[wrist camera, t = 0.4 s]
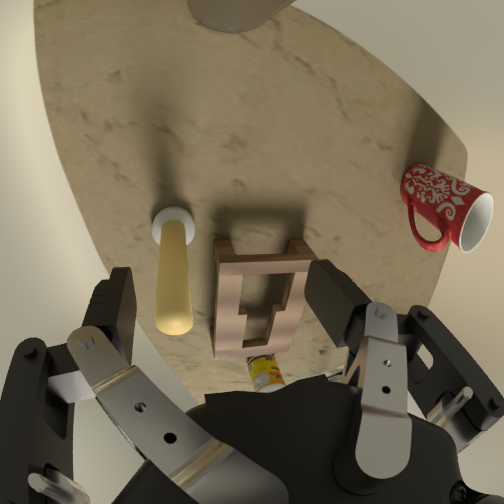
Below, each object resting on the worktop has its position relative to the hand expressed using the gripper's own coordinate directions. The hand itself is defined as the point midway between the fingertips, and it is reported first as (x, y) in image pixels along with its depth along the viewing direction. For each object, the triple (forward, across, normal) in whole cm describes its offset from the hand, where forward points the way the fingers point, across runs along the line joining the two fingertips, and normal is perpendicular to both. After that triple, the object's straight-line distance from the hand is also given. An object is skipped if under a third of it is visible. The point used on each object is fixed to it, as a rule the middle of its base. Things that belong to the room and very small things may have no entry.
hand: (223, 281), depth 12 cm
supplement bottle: (+23, -12, +35) cm, 43 cm away
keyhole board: (+21, -8, +17) cm, 28 cm away
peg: (+20, +2, +6) cm, 21 cm away
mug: (+20, -32, -1) cm, 37 cm away
